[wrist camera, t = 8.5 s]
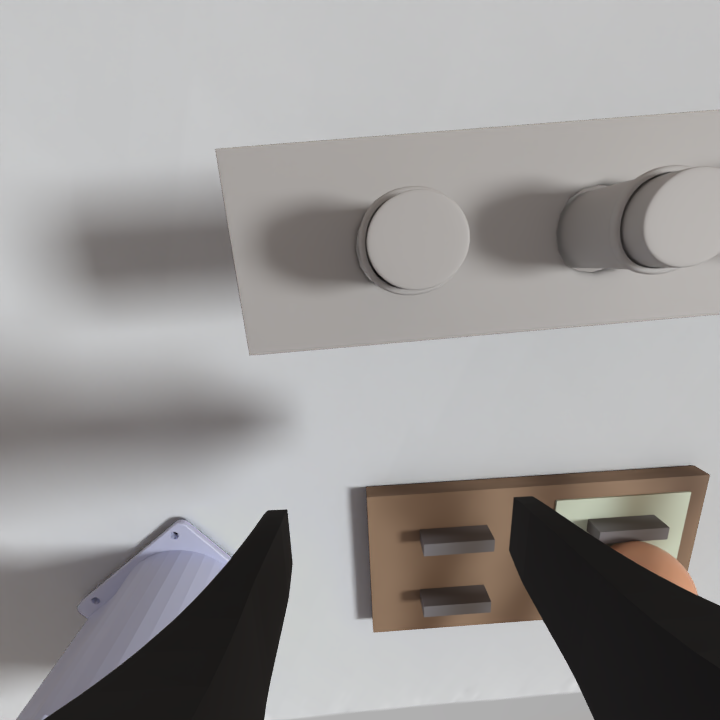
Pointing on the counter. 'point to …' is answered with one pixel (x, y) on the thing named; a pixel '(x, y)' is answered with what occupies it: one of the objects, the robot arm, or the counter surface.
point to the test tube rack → (475, 230)
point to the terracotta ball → (657, 562)
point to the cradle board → (507, 538)
